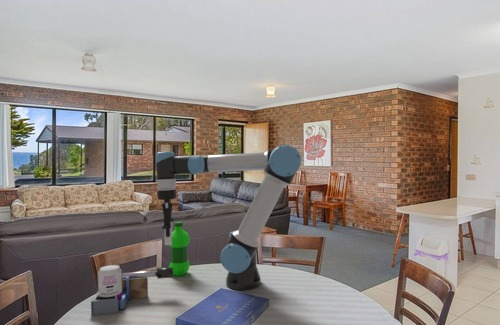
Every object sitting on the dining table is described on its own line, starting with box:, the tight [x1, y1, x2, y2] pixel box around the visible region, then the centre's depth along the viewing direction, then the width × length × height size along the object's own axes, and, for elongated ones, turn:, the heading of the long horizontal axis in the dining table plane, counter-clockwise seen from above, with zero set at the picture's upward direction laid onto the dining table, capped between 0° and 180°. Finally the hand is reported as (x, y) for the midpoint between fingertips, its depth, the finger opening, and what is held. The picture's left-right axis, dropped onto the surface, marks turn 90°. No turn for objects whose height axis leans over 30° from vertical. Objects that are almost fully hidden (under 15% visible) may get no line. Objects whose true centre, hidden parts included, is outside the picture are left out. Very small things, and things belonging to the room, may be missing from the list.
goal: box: [90, 287, 124, 316], centre depth 129 cm, size 9×12×5 cm
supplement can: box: [97, 264, 123, 309], centre depth 129 cm, size 8×8×15 cm
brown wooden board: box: [122, 277, 149, 300], centre depth 137 cm, size 14×1×8 cm, turn 100°
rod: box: [119, 267, 174, 310], centre depth 134 cm, size 22×13×11 cm, turn 100°
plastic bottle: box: [168, 221, 191, 277], centre depth 165 cm, size 10×10×25 cm
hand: (168, 241), depth 141 cm, fingers open, 13 cm apart
